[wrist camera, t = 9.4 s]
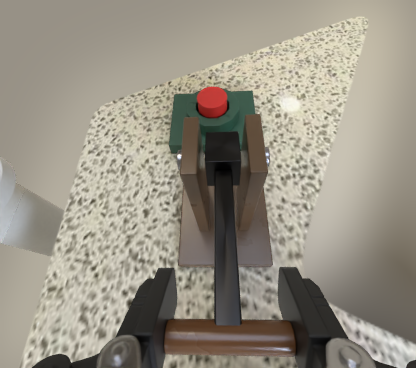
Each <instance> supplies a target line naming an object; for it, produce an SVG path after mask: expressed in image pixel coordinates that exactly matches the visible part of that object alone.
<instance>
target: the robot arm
mask: <svg viewBox="0 0 416 368" xmlns="http://www.w3.org/2000/svg"><path fill="white" fill-rule="evenodd" d="M278 303H279V307H280V311H281V314H282V317H283V320H289V321H290V322H291V324H292V327H293V330H294V334H295V340H296V355H295V359H296V362H297V366H298V368H396V367H393V366H390V365H387V364H383V363H380V362H378V361H375V360H373V359H372V357H371V356H370V355H369V353H368V352H367V351H366V350H365V349H364V348H362V347H361V346H360V345H358V344H357V343H355V342H353V341H351V340H349V339H348V337H347V335H346V333H345V332H344V330H343V328H342V327H341V325H340V323H339V321H338V320H337V318H336V316H335V314H334V313H333V311H332V309H331V307H330V306H329V304H328V302H327V300H326V299H325V298H324V295H323V294H322V292H321V290H320V288H319V287H318V286H317V285H316V284H315V283H314V282H313V281H311V280H310V279H302V277H301V275H300V273H299V271H298V269H297V268H296V267H280V268H279V279H278ZM176 305H177V288H176V278H175V270H174V268H158V270H157V273H156V275H155V278H154V279H147V280H146V281H145V282H144V283H143V284H142V285H141V286H140V287H139V289H138V291H137V293H136V295H135V298H134V299H133V301H132V304H131V306H130V308H129V310H128V312H127V314H126V316H125V318H124V321H123V323H122V325H121V327H120V329H119V331H118V333H117V335H116V337H115V338H114V339H112V340H111V341H109V342H108V343H107V344H106V345H105V346H104V347H103V349H102V350H101V352H100V353H99V354H97V355H95V356H92V357H89V358H86V359H83V360H79V361H76V362H73V363H71V362H70V359H69V357H67V356H66V355H63V354H56V355H52V356H49V357H47V358H45V359H43V360H41V361H40V362H38V363H37V364H36V365H35V366H33V367H32V368H163V363H164V359H165V354H166V353H165V351H164V333H165V327H166V324H167V321H168V320H169V319H174V315H175V310H176ZM406 368H416V360H413V361H411V362H409V363H408V364H407V366H406Z"/></svg>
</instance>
